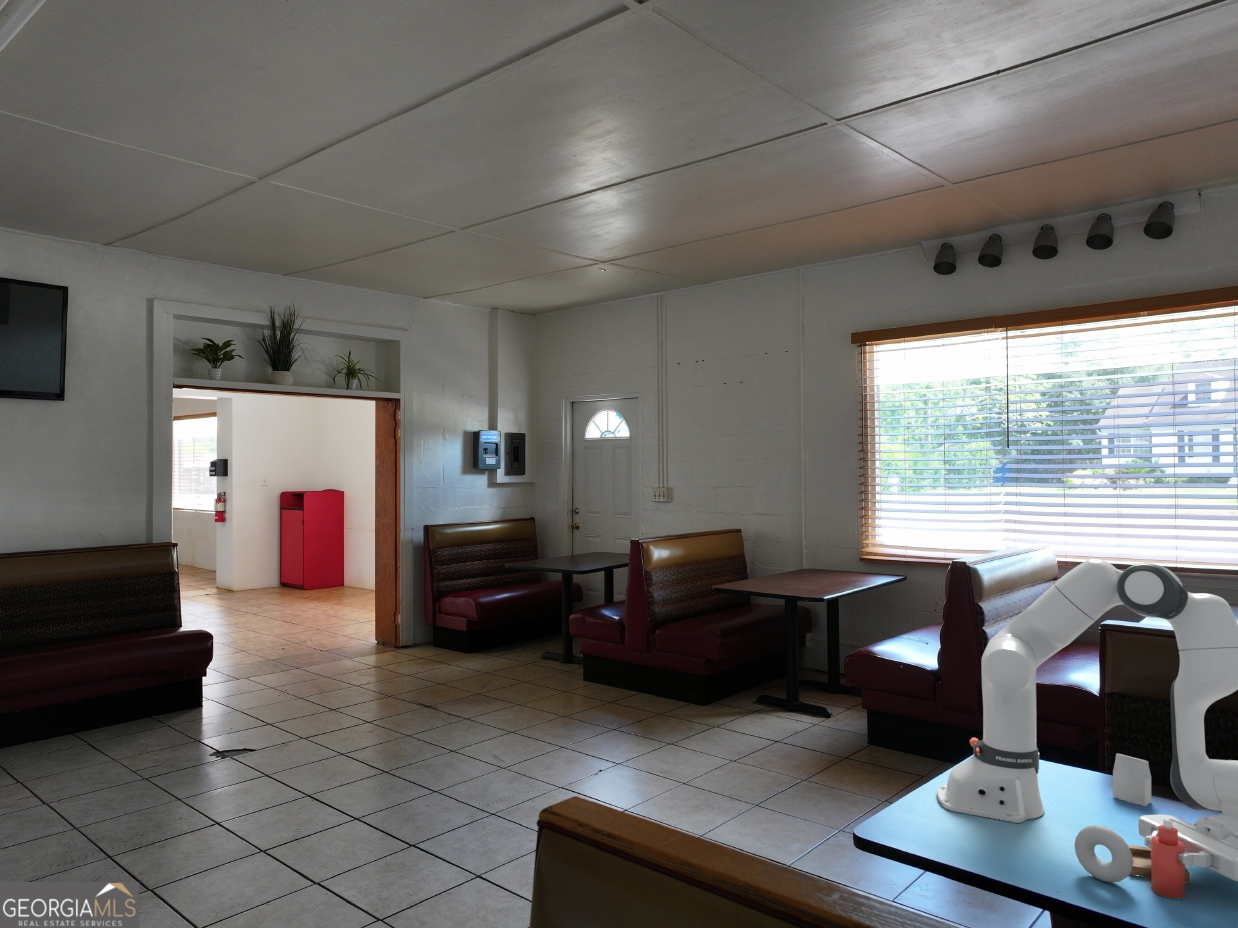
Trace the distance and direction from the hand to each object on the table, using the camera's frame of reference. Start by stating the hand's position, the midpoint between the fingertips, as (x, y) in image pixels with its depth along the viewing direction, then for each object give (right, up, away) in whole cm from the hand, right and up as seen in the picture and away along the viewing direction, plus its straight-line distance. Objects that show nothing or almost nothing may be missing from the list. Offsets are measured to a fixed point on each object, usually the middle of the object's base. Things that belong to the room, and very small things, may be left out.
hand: (1164, 850), depth 152 cm
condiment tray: (+4, -8, +10) cm, 13 cm away
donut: (-9, -8, +5) cm, 12 cm away
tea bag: (+20, -8, +42) cm, 48 cm away
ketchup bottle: (+1, -8, 0) cm, 8 cm away
